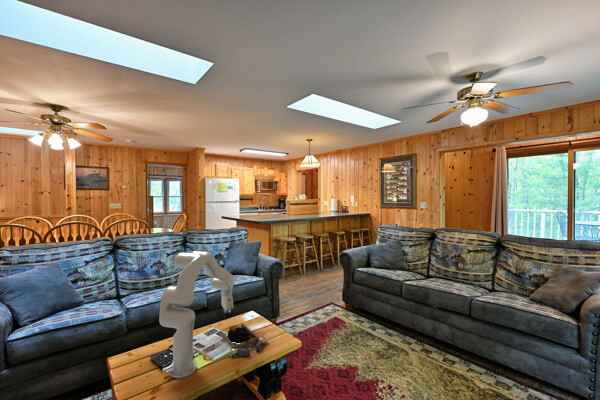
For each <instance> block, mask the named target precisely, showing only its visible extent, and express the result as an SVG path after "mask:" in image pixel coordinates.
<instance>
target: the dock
mask: <svg viewBox="0 0 600 400" xmlns="http://www.w3.org/2000/svg"><path fill="white" fill-rule="evenodd" d="M241 327H244V328H246V330H247V331H248V332H249V333H250V334H251V335H250V340H248V341H245V342H242V343H240V344H233V343H232V342H231V341H230V340H229V339H228V335H226V334H225V333H224V332H223V331H222V330H219V332H218V333H219V337H220V336H221V337H222V338H223V339H224V340H225V341H226V342H227V343H228V344H229V345H230V346H231V348H232V347H238V348H241V349H246V348H248V347H251V346H253V345H256V344H257V343H258V342H259V336H258V335H256V334H255V333H254V332H253V331H252V330H251V329H250V328H249V327H247V326H246V325H245V324H244V323H240V328H241ZM221 337H220V338H221ZM222 338H221V339H222ZM223 339H222V340H223ZM224 340H223V341H224ZM225 341H224V342H225ZM226 342H225V343H226Z"/></svg>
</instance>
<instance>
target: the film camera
mask: <svg viewBox="0 0 600 400" xmlns="http://www.w3.org/2000/svg"><path fill="white" fill-rule="evenodd" d="M250 335H251V334H250V333H249V332H248V331H247V330H246V328H244V327H241V326H237V327H236V328H235V329H231V328H230V329H228V331H227V337H228V339H229V340H230V341H231V342H236V343H242V342H245V341H248V340H250V339H251V337H250Z"/></svg>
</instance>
